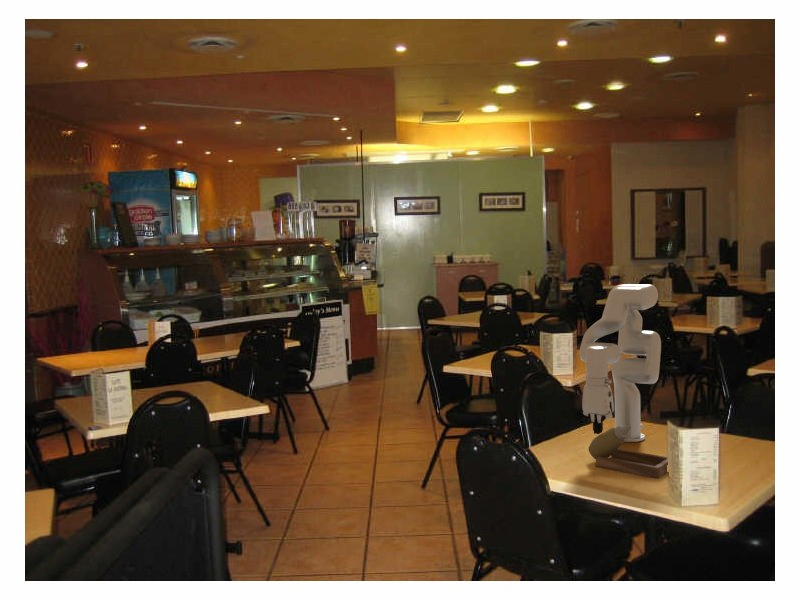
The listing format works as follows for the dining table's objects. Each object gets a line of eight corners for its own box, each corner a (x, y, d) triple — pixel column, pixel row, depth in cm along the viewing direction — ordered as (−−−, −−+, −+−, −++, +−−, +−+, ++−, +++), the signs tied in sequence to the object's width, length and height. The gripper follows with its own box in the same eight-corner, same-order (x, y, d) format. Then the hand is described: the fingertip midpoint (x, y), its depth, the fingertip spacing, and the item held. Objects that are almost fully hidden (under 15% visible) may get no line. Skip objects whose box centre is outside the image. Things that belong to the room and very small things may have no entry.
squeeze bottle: (602, 467, 263) (638, 441, 252) (584, 453, 263) (619, 426, 252) (604, 452, 270) (639, 425, 259) (587, 438, 269) (621, 411, 258)
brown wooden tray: (613, 457, 269) (613, 448, 268) (674, 468, 254) (674, 458, 254) (595, 466, 259) (595, 456, 259) (657, 478, 244) (657, 468, 244)
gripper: (621, 381, 261) (622, 433, 262) (583, 377, 271) (584, 427, 272) (611, 385, 255) (612, 438, 257) (572, 381, 265) (573, 432, 267)
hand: (597, 432), depth 264 cm, fingers closed
